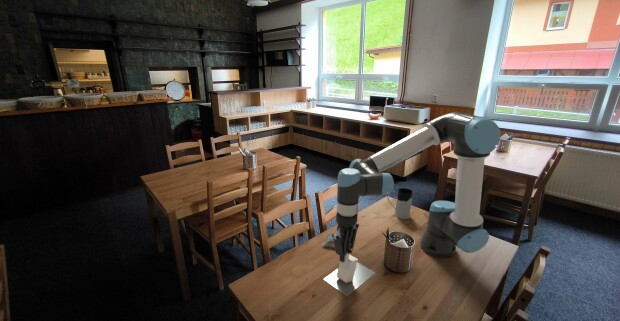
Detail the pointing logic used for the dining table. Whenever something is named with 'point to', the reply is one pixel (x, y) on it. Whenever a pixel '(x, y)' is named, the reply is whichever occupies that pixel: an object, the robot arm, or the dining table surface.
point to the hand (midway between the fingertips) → (343, 267)
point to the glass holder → (403, 203)
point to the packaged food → (329, 241)
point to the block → (348, 270)
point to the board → (358, 279)
